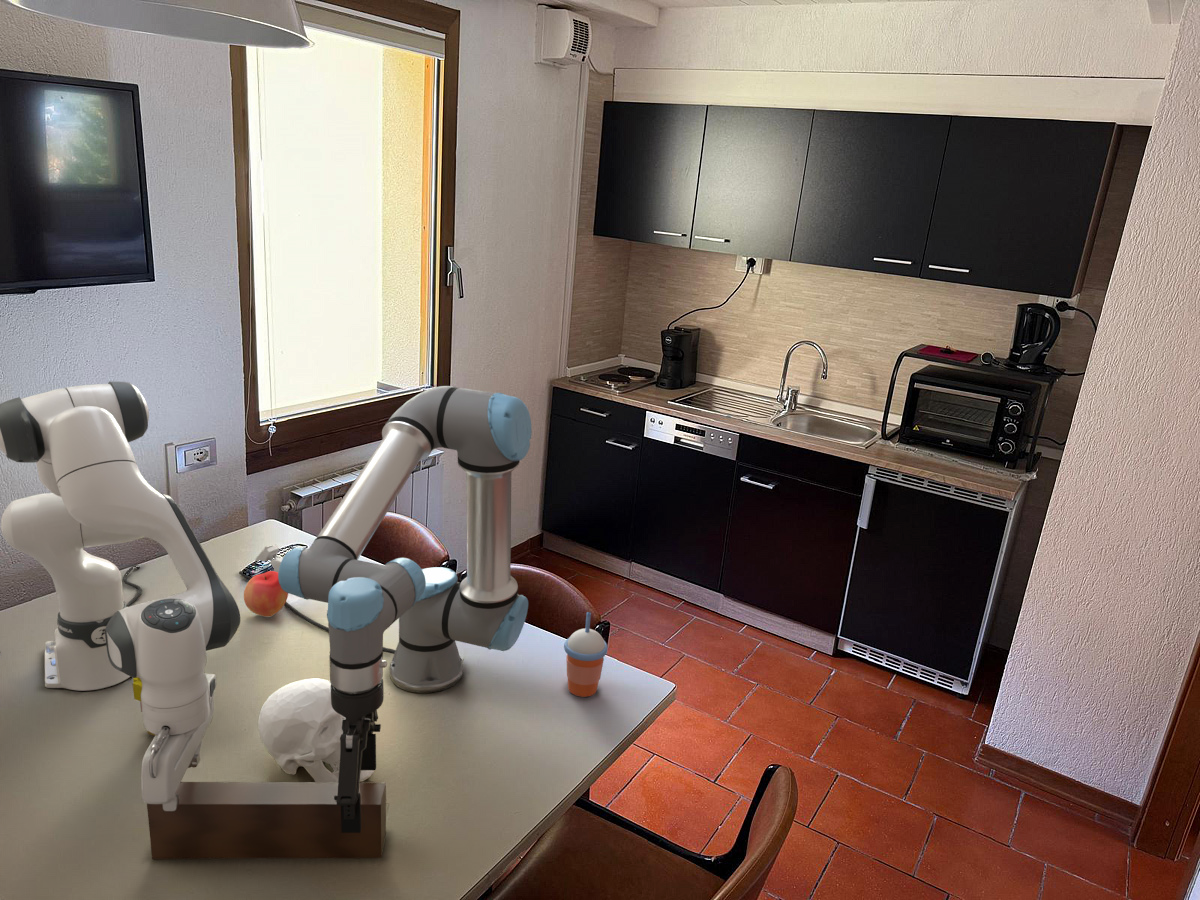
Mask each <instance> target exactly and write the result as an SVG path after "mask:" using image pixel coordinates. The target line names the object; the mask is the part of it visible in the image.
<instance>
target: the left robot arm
mask: <svg viewBox="0 0 1200 900" xmlns="http://www.w3.org/2000/svg"><path fill="white" fill-rule="evenodd" d="M149 410H150V409H149V406H148V403H147V401H146V398H145V397H144V396H143V394H142V393H141V391H140V389H139V388H138V387H137V386H136V385H134V384H133V383H131V382H128V381H108V382H107V383H95V384H82V385H73V386H67V387H66V386H65V387H64V388H62V387H61V388H55V389H51V390H49V391H46V392H41V393H37V394H33V395H29V396H26V397H23V398H21V397H20V396H18V397H15V398H11V399H9V400H5V401H4V402H1V403H0V451H1V452H2V453H3V454H4V455H5V457H6V458H7V459H9V460H11V461H14V462H16V463H25V464H27V463H30V464H31V463H33V464H34V463H35V464H36V469H37V474H38V478H39V480H40V482H41V484H42V485H43V486H44V487H45V488H46V489H47V490H48V491H49V492H47V493H38V494H33V495H29V496H25V497H22V498H18V499H14V500H12V501H11V502H10V503H9V504H8V505H7V506H6V508H4V509H5V510H4V511H3V512H2V515H1V519H0V530H1V533H2V536H3V538H4V540H5V541H6V543H7V544H8V545H9V546H10V547H11V548H13V549H14V550H15V551H18V552H20V553H23V554H25V555H27V556H28V557H31V558H32V559H33V560H35V561H37V563H39V564H40V565H41V567H43V568H44V569H45V570H46V571H47V573H48V574H49V576H50V577H51V580H52V582H53V586H54V589H55V595H56V599H57V604H58V613H57V618H56V624H57V627H56V629H55V630H54V639H53V640H47V641H45V643H44V645H45V649H44V687H45V688H47V689H66V690H71V691H83V692H85V691H95V690H101V689H104V688H105V689H106V688H109V687H111V686H115V685H117V684H120V683H122V682H124V681H126V680H127V679H129V678H130V677H131V678H133V677H134V678H136V677H138V678H140V679H141V681H142V691H141V704H142V712H141V714H142V724H143V727H144V729H145V730H146V731H147V730H148V731H149V732H151V733H153V734H155V736H154V737H153V738H152V740H151V742H150V744H149V746H148V748H147V749H146V750H145V753H144V754H143V757H142V762H141V772H140V773H141V779H140V783H141V785H140V786H141V800H142V801H143V803H145V804H146V805H147V804H163V810H164V811H175V810H176V808H177V806H178V804H179V794H175V792H176V790H177V788H178V786H179V784H180V782H182V780H183V778H184V776H185V775H186V772H187V770H188V769H189V768H190V769H191V768H192V769H193V768H194V769H195V768H197V767H198V765H199V763H200V761H201V749H202V742H203V738H204V736H205V734H206V733H207V731H208V728H209V726H210V724H211V723H212V719H213V716H214V713H215V712H214V711H215V690H216V687H217V685H218V684H217V675H216V674H213V673H206V672H205V670H206V665H207V659H208V658H207V651H211V650H216V649H220V648H225V647H226V646H227V645H228V644H229V643H230V641H231V640H232V639H233V638H234V637H235V635H236V633H237V631H238V630H239V627H240V626H241V625H240V624H241V613H240V609H239V606H238V604H237V601H236V599H235V597H234V596H233V594H232V593H231V592H230V590H229V588H228V587H227V586H226V585H225V583H224V582H223V580H221V578H220V576H219V575H218V573H217V571H216V570H215V568H214V566H213V564H212V562H211V561H210V559H209V557H208V556H207V553H206V552H205V550H204V548H203V546H202V544H201V543H200V541H199V539H198V537H197V536H196V534H195V532H194V530H193V528H192V527H191V525H190V523H189V522H188V519H187V518H186V517H185V514H184V513H183V511H182V510H181V508H180V507H179V505H178V504H177V502H176V501H175V500H174V499H173V498H172V497H171V496H170V495H168V494H165V493H161V492H159V491H158V490H156V489H155V488H154V487H153V486H151V484H150V483H149V482H148V481H147V480H146V479H145V478H144V476H143V474H142V473H141V471H140V468H139V467H138V464H137V460H136V458H135V455H134V453H133V450H132V447H131V445H130V443H131V442H134V441H136V440H138V439H140V438H142V437H143V436H144V435H145V434H146V432H147V430H148V429H149V420H150V411H149ZM144 538H147V539H150V540H153V541H154V542H156V543H158V544H159V545H161V547H162V548H163V549H165V550H164V551H166V553H167V555H168V556H169V559H170V560H171V562H172V564H173V565H174V568H175V569H176V571H177V573H178V574H179V577H180V579H181V580H182V582H183V584H184V585H185V587H186V590H185V591H181V592H178V593H175V594H171V595H168V596H167V595H166V596H164V597H160V598H157V599H151V600H147V601H143V602H140V603H136V604H133V603H134V602H135V601H136V600H137V599H138V598H140V596H141V595H142V591H143V590H142V588H141V587H140V586H139V585H138V584H136V583H133V582H130V581H128V580H127V578H128V575H129V574H130V573H131V572H132V571H133V570H134V569H133V567H136V566H139V565H137V564H135V565H132V566H131V567H130V568H128V569H129V570H127V571H125V573H124V575H123V577H122V573H121V571H120V569H119V568H118V566H117V565H116V564H115V563H113V562H112V561H110V560H108V559H106V558H102V557H99V556H96V555H93V554H91V553H89V552H87V551H86V550H84V549H85V548H92V547H102V546H113V545H122V544H126V543H130V542H134V541H137V540H140V539H144ZM135 569H141V568H140V566H139V567H136V568H135ZM128 572H129V573H128ZM126 574H127V575H126ZM122 581H123V582H122ZM123 583H124V584H126V585H127V586H129V587H133V588H134V589H137V591H138V592H137V593H136V595H134V596H133V598H131V599H130V600H129V601H128V602H127V603H126V602H125V600H124V591H123ZM132 604H133V605H132ZM134 678H133V679H134ZM141 704H140V705H141ZM148 731H147V732H148Z"/></svg>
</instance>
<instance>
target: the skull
mask: <svg viewBox="0 0 1200 900" xmlns="http://www.w3.org/2000/svg"><path fill="white" fill-rule="evenodd" d="M343 719H346V718H345V717H344V716H342V715H340V714H338V713H337V712H335V711H334V709H333V708H332V705H331V683H330V680H328V679H325V678H321V677H320V678H318V677H312V678H311V677H310V678H304V679H300V680H296V681H293V682H290V683H289V682H288V683H287V684H285V685H283V686H282V687H280V688H277V689H276V690H275V691H274V692H272V693H271V694H269V695H268V697H267V699H266V700H265V701H264V703H263V704H262V706H261V709H260V710H259V715H258V723H257V725H258V734H259V739H260V741H261V743H262V745H263V746H264V748H265V749H266V751H267V752H268V753H269V755H270V756H271V757H272V759H273V760H275V762H276V763H277V764H278V766H279V768H280V769H281V770H282V771H283V772H285V774H288V775H295V774H297V771H298V768H299V767H303V768H304V769H305V770H306V772H307V773H308V774H309V775H310V777H311V778H312V779H313V781H314V782H332V783H338V781H339V766H340V737H341V734H343V730H342V721H343ZM324 763H326V764H328V765H330V768H332V772H331V770H328V769H327V768H326V766H325V764H324ZM374 771H375V770H361V773H360V783H362V782H364V781H366V780H367V779H368V778H370V777H371V776H372V775H373V774H374Z"/></svg>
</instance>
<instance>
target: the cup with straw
mask: <svg viewBox="0 0 1200 900" xmlns="http://www.w3.org/2000/svg"><path fill="white" fill-rule="evenodd" d="M591 616H592V613H591V611H587V612H586V617H585V628H580V629H577V630H575V631H574V632H573V633H572V634H571V635H570V636H569V637H568V638H567V639H566V640H565V641H564V645H563V650H564V652H565V653H566V655H565V656H566V660H565V661H566V678H567V690H568V691H569V692H570V693H571V694H572V695H573V696H576V697H582V698H586V697H591V696H594V695H595V694H596V693H597V691H598V687H599V681H600V680H601V676H602V671H603V666H604V661H605V658H604V657H605V656H606V655H607V654H608V651H609V649H608V644H607V642H606V640H604V637H602V635H601V634H600V633H599V632H598V631H596V630H595V629H592V628H591V618H592V617H591Z"/></svg>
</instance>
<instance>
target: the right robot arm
mask: <svg viewBox="0 0 1200 900" xmlns="http://www.w3.org/2000/svg"><path fill="white" fill-rule="evenodd" d="M532 432H533V431H532V419H531V414H530V411H529V409H528V407H527V405H526V404H525V403H524V401H523V400H522V399H521V398H519V397H518V396H513V395H508V394H504V392H503V393H502V392H492V391H485V390H478V389H471V388H464V387H457V386H454V385H453V386H452V385H440V386H436V387H432V388H429V389H425V390H423V391H422V392H420V393H418V394H416V395H415V396H413V397H412V398H410V399H409V400H406V402H405V403H403V405H401V406H400V407H399V408H398V409H397V410H396V411H395V412H393V414H392V415H391V416H390V418H389V419H388V420H387V421H386V423H385V425H384V426H383V428H382V430H381V437H382V439H381V441H380V442H379V444H378V446H377V447H376V448H375V449H374V451H373V453H372V454H371V455H370V457H369V459H368V461H367V462H366V463H365V465H364V466H363V468H362V469H361V471H360V472H359V474H358V475H357V477H356V478H355V479H354V481H353V482H352V484H351V486H350V487H349V489H348V490H347V492H346V493H345V494H344V496H343V498H342V499H341V501H340V502H339V504H338V505H337V507H336V508H335V510H334V511H333V513H332V514H331V516H330V517H329V518H328V520H327V521H326V523H325V525H324V527H322V529H321V531H320V532H319V534H318V535H317V536H316V538H315V539H314V540H313V542H312V543H311V544H310V546H309V548H308V547H294V548H291V550H289V551H287V552H286V553H285V554H284V556H282V557H283V559H282V561H281V564H280V567H279V571H278V580H279V584H280V586H281V588H282V589H283V590H284V591H285V592H287V593H288V595H292V596H296V597H298V598H302V599H303V600H313V601H316V602H322V603H327V610H326V612H327V613H326V618H327V624H328V626H325V625H324V624H322V623H319V622H317V621H315V620H314V619H311V618H310V617H308V616H307V615H305V614H303V613H302V612H300V611H299V610H297V609H296V608H295V607H293V606H292V605H291V604H290V603H288V601H286V603H285V604H284V606H283V607H285V608H287V609H288V610H289V611H291V612H292V613H293V614H295V616H297V617H299V618H300V619H302V620H304V621H305V622H307V623H308V624H310V625H312V626H313V627H316V628H318V629H320V630H321V631H324V632H327V633H328V639H329V640H328V641H329V655H328V658H329V661H328V662H329V681H330V683H331V705H332V708H333V709H334V711H335V712H337V713H338V714H340V715H342V716H344V717H345V718H346V719H343V721H342V730H343V734H341V737H340V762H339V763H340V766H339V781H338V796H334V800H337V805H341V832H342V833H360V832H361V797H360V793H359V783H361V782H360V773H361V770H374V771H376V770H377V734H376V733H380V732H381V727H382V725H381V724H380V723H376V722H378V720H379V716H378V715H379V714H378V709H379V708H381V706H382V705H383V702H384V699H385V698H384V696H385V695H384V691H385V690H384V679H383V677H384V668H387V667H388V662H387V660H383V658H384V653H388V654H392V655H393V656H392V659H391V660H390V664H389V679H390V681H391V682H392V683H393V684H394V685H395V686H396V687H398V688H399V689H401V690H404V691H407V692H410V693H416V694H430V693H431V694H432V693H438V692H441V691H445V690H447V689H450V688H451V687H453V686H455V685H456V684H457V683H458V682H459V681H460V680H461V679H462V676H463V672H464V661H465V657H463V658H462V657H461V656H460V653H459V649H458V646H457V642H459V643H464V644H468V645H473V646H476V647H481V648H485V649H488V650H489V651H490V650H496V651H500V652H501V651H503V652H505V651H508V650H510V649H511V648H513V647H514V645H515V644H516V643H517V641H518V639H519V637H520V635H521V633H522V631H523V628H524V626H525V622H526V619H527V615H528V611H529V610H528V609H529V600H528V598H527V597H526V596H524V594H519V585H518V582H517V580H516V578H514V577H513V576H512V575H511V565H512V564H511V563H512V562H511V561H512V559H511V557H512V555H511V554H512V553H511V552H512V472H513V471H514V470H515V469H516V468H518V467H519V466H520V462H521V461H522V460H523V459H524V458H526V456H527V455H528V452H529V450H530V446H531V439H532V434H533V433H532ZM438 448H439V449H441V448H443V449H448V450H453V451H456V452H457V465H458V467H459V468H460V469H462V470H463V471H464V472H465V494H466V495H465V496H466V497H465V500H466V501H465V502H466V503H465V505H466V506H465V507H466V577H464V578H463V579H462V580H461V582H460V581H458V580H459V579H458V578H459V577H458V575H457V572H456V571H454V570H453V569H451V568H448V567H441V566H440V567H437V566H435V567H434V566H433V567H426V568H421V566H419V564H418V563H417V562H416V561H414V560H412V559H410V558H407V557H398V558H395V559H392V560H390V561H388V562H386V563H385V564H379V563H375V562H369V561H365V560H359V558H360V557H361V555H362V554H363V552H364V550H365V549H366V547H367V545H368V544H369V542H370V541H371V539H372V537H373V536H374V534H375V533H376V532H377V529H378V528H379V526H380V525H381V523H382V522H383V520H384V518H385V516H387V513H388V512H389V510H390V508H391V507H392V505H393V504H394V502H395V501H396V499H397V497H398V496H399V494H400V492H401V491H402V489H403V488H404V486H405V484H406V483H407V481H408V480H409V478H410V476H411V475H412V473H413V471H414V470H415V469H416V467H417V465H418V463H419V462H420V461H424V460H426V459H428V458H429V456H430V455H431V453H432V452H433V450H435V449H438ZM243 572H244V571H242V570H240V571H238V574H239V575H240V576H242V577H244V578H246V579H248V580H250V579H251V577H249V576H247V575H245V574H243ZM396 621H398V643H397V645H396V648H395V649H393V648H389V647H384V632H385V631H386V630H388V629H389V628H390V627H391V626H392V625H393V624H394V623H395V622H396Z"/></svg>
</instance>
